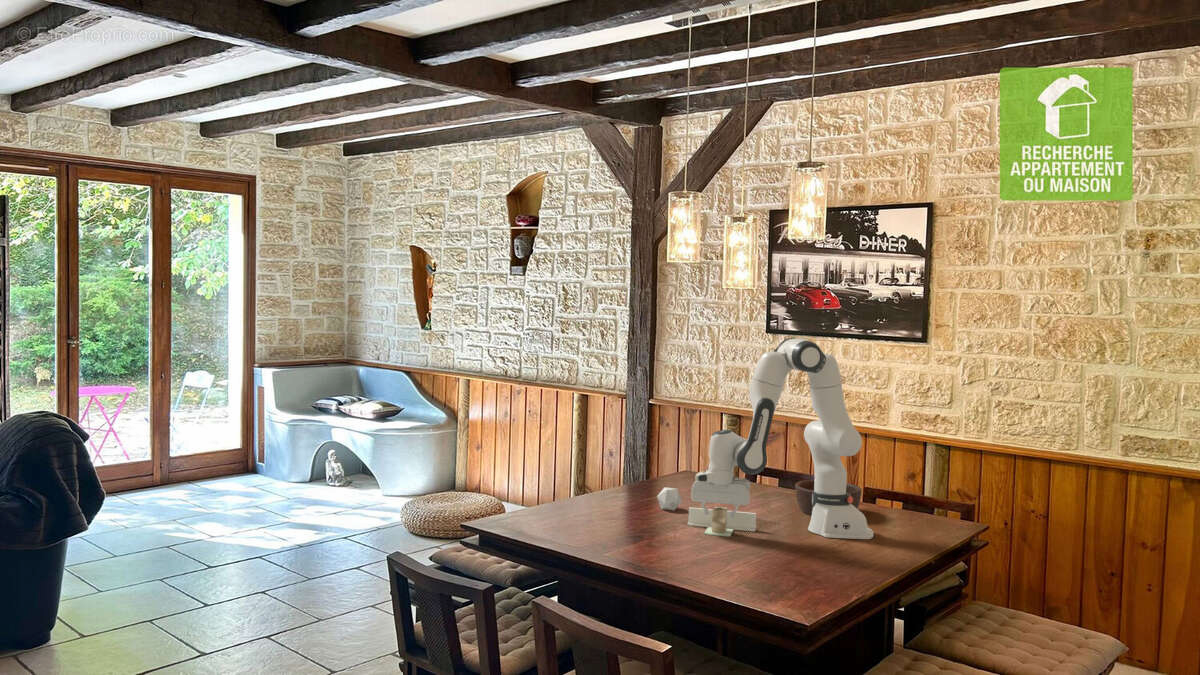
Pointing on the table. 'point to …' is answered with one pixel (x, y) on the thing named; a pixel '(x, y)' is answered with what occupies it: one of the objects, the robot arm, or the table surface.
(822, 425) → the robot arm
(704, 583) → the table surface
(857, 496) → the wooden bowl
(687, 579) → the table surface
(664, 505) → the die
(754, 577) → the table surface
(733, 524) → the white shelf
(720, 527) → the birch block
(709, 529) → the sage mat
